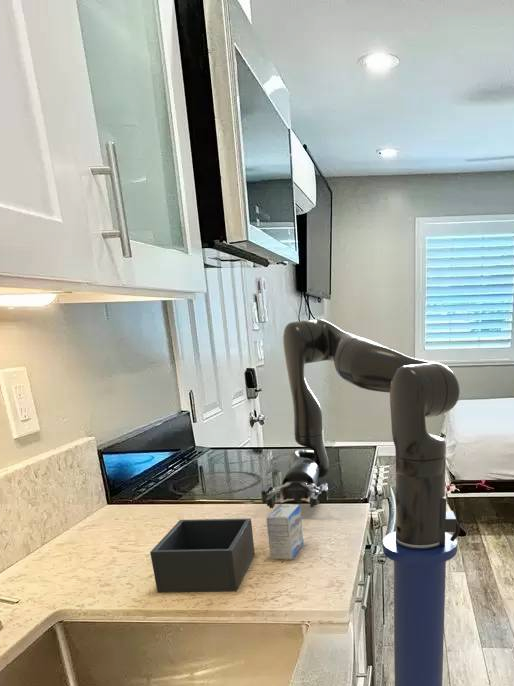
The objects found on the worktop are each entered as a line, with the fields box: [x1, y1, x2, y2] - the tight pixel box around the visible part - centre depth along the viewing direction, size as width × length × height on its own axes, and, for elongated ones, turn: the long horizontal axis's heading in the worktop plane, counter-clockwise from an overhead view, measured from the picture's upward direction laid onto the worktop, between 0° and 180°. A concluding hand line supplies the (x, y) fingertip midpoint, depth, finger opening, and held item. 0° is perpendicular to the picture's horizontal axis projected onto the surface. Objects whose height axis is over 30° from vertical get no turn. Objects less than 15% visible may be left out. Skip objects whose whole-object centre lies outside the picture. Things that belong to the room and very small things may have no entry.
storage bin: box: [149, 518, 256, 594], centre depth 103 cm, size 14×16×8 cm
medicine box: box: [266, 503, 304, 561], centre depth 110 cm, size 8×4×9 cm, turn 170°
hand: (291, 503), depth 118 cm, fingers open, 8 cm apart
